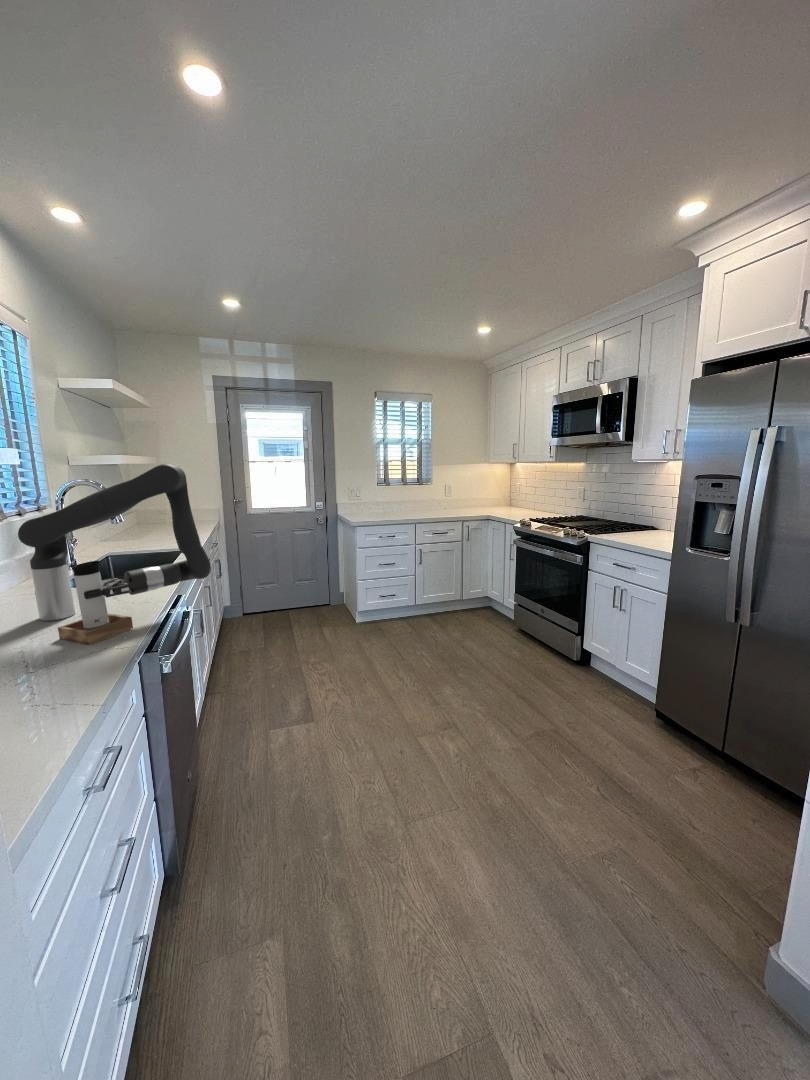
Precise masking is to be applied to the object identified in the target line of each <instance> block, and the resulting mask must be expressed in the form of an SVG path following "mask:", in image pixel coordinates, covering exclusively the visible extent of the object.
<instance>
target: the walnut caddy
mask: <svg viewBox="0 0 810 1080" xmlns="http://www.w3.org/2000/svg"><path fill="white" fill-rule="evenodd" d="M108 619H109V624H108V625H105V626H102V627H99V628H97V629H94V630H91V631H86V630H84V626H83V625H84V624H83V621H82V619H79V620H76V621H73V622H71V623H67V624H65V625H62V626H58V627H57V631H58V637H59V640H63V641H69V642H73V643H78V642H79V644H83V643H84V645H88V644H89V645H90V644H91V645H93V644H95V642H96V643H98V642H101V641H103V639H104V640H106V639H109V638H111V637H114V636H116V635H119V634H122V633H124V632H126V631H129V630H132V629H133V628H134V625H133V618H132V616H126V615H121V614H120V615H119V614H115V613H108ZM131 628H132V629H131ZM118 633H119V634H118ZM113 635H114V636H113ZM108 637H109V638H108ZM100 640H101V641H100ZM97 641H98V642H97ZM92 643H93V644H92ZM89 645H88V646H89Z"/></svg>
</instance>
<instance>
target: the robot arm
mask: <svg viewBox="0 0 810 1080" xmlns="http://www.w3.org/2000/svg"><path fill="white" fill-rule="evenodd" d="M186 475H187V474H186V473H185V471H184V470H183V469H182V468H181V467H179V466H177V465H174V464H169V463H161V464H159V465H157V466H154V467H152V468H151V469H149V470H147V471H146V472H143V473H141V474H140V475H138V476H135V477H134V478H132V479H129V480H126V481H123V482H120V483H117V484H114V485H112V486H109V487H106V488H103V489H100V490H98V491H96V492H94V493H92V494H89V495H87V496H85V497H83V498H81V499H79V500H77V501H74V502H73V503H71V504H69V505H67V506H65V507H63V508H62V509H59V510H57V511H55V512H51V513H49V514H45V515H42V516H40V517H34V518H31V519H30V518H29V519H28V520H26V521H25V522H23V523H22V524H21V525H20V526H19V529H18V531H17V536H18V539H19V541H20V542H21V543H22V544H23V545H24V546H26V547H29V548H30V547H31V548H34V553H33V556H32V557H31V558H30V559H29V565H30V569H31V576H32V579H33V587H34V595H35V600H36V607H37V611H38V617H39V618H40V621H42V622H43V621H45V622H49V621H57V620H58V621H59V620H63V619H66V618H69V617H72V616H74V615H75V614H76V609H75V603H74V596H73V591H72V586H71V580H70V573H69V568H68V563H67V561H68V560H67V558H68V553H69V552H68V551H69V550H68V543H67V534H69V533H71V532H72V533H73V532H74V531H77V530H80V529H85V528H87V527H90V526H95V525H98V524H101V523H103V522H106V521H108V520H110V519H111V520H112V519H113V518H116V517H118V516H120V515H122V514H124V513H126V512H128V511H130V510H132V508H134V507H135V506H136V505H138V504H139V503H141V502H143V501H145V500H147V499H150V498H153V497H155V496H158V495H162V494H165V496H166V497H167V499H168V503H169V506H170V511H171V520H172V529H173V534H174V538H175V541H176V544H177V547H178V550H179V552H180V553H181V554H183V555H184V556H185V560H182V561H178V562H177V561H176V562H174V563H166V564H162V565H157V566H156V565H155V566H147V567H143V568H137V569H133V570H127V571H125V572H124V573H123V574H124V575H123V576H124V577H123V578H120V579H119V578H118V577H117V578H116V577H111V578H105V579H101V580H102V586H103V587H102V588H100V590H99V589H94V590H90V591H85V592H84V598H85V599H91V598H95V597H100V596H101V597H105V598H111V597H116V596H121V595H125V594H129V595H131V596H134V595H139V594H142V593H147V592H150V591H156V590H158V589H162V588H165V587H169V586H172V585H177V584H179V583H181V582H184V581H190V580H203V579H205V578H207V577H208V576H209V575H210V574H211V570H212V565H211V562H210V559H209V556H208V554H207V553H206V551H205V549H204V548H203V546H202V543H201V539H200V536H199V532H198V530H197V527H196V523H195V519H194V516H193V512H192V508H191V504H190V498H189V491H188V482H187V476H186Z"/></svg>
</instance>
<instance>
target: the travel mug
mask: <svg viewBox="0 0 810 1080" xmlns="http://www.w3.org/2000/svg"><path fill="white" fill-rule="evenodd" d="M99 564H100V560H98V559H97V560H92V561H86V562H82V563H78V564H77V565H75V566H72V571H73V578H74V583H75V590H76V594H77V600H78V604H79V605H78V606H79V610H80V615H81V620H82V621H83V624H84V625H83V626H84V630H86V631H91V630H94V629H97V628H99V627H102V626H105V625H108V624H109V619H108V614H109V613H108V609H107V604H106V603H107V602H106V596H105V597H101V596H100V597H95V598H91V599H85V598H84V592H85V591H90V590H94V589H99V590H100V588H102V587H103V586H102V580H103V579H102V576H101V575H102V574H101V571H100V567H99V566H100V565H99Z"/></svg>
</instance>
